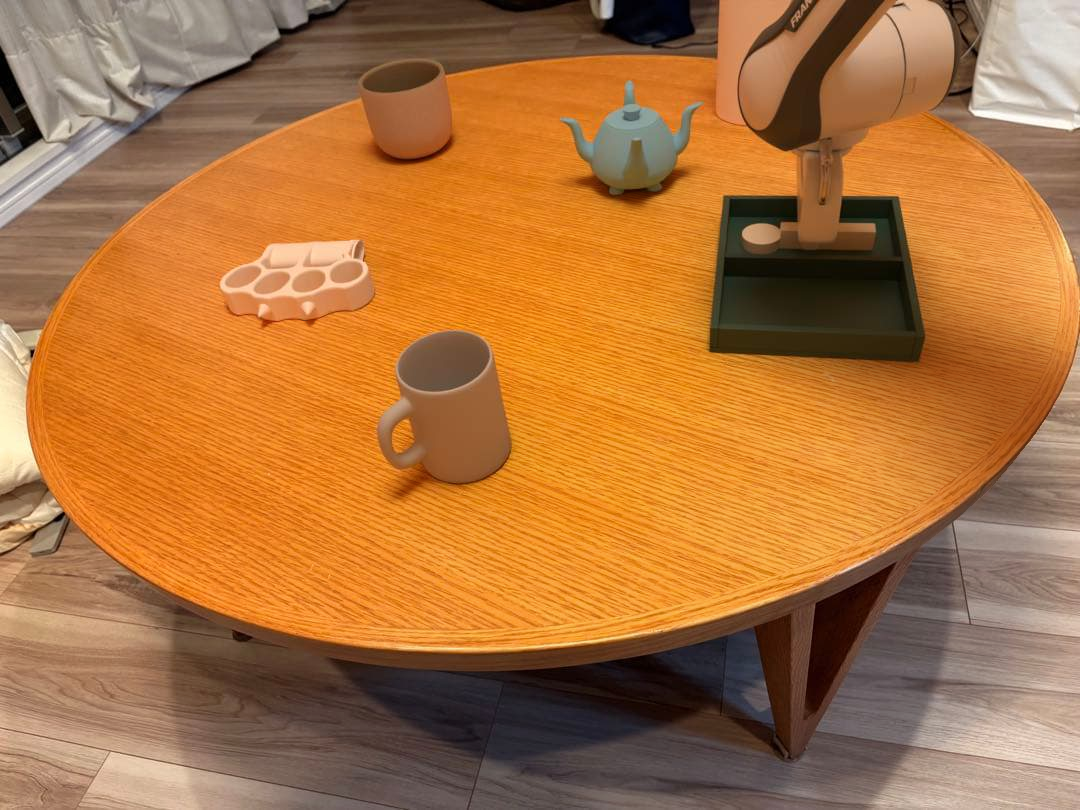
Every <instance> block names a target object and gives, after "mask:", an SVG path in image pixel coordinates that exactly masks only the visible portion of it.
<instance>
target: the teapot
mask: <svg viewBox="0 0 1080 810" xmlns="http://www.w3.org/2000/svg"><path fill="white" fill-rule="evenodd" d="M623 97H624V98H623V104H622V108H619V109H616V110H614V111H611V112H610V113H609V114H608V115H607V116H606V117H605V118H604V120H603V122H602V123H601V124H600V127H599V128H598V130H597V132H596V134H595V137H594V138H593V141H592V142H590V141H588V140H586V139H585V136H584V135H583V130H582V127H581V125H580V123H579V122H578V121H577V119H575V118H571V117H559V118H558V120H559V121H560V122H562V123H564V124H566V125H567V127H569V129H570V130H571V133H572V137H573V142H574V146H575V149H576V152H577V154H578V156H579V157H580V159H582V160H583V161H584V162H585V163H587V164H589V166H590V169H591V171H592V173H593V175H594V176H595V177H596V178H597V179H599V180H600V181H601V182H602V183H604V184H605V185H607V186H609V187H610V188H609V189H608V193H609V194H610V195H613V196H619V195H621V194H623V193H624V192H625V190H639V189H645V188H646V190H647V191H649V192H659V191H660V190H662V189H663V186H662V183H661V182H662V181H664V180H665V179H667V177H669V175H670V174H671V173H672V172H673V170H674V169H675V168H676V166H677V164H678V159H679V158H678V157H679V156H680V155H681V154H682V153H683V152H684V151H685V150H686V149H687V147H688V145H689V143H690V138H691V127H692V125H691V124H692V120H693V119H692V118H693V115H694V113H695V112H696V110H698V109H699V107H701V106H702V105H703V101H697V102H695V103H692V104H690V105H688V106H687V107H686V108H685V109H684V110H683V112H682V115H681V120H680V127H679V130H678V131H677V132H676V133H675V134H673V133H672V131H671V129H670V127H669V126H668V125H667V123H666V122H665V121H664V119H663V117H662V116H661V115H660V114H659V113H658V112H657V111H656V110H654V109H653V108H650V107H645V106H641V105H640V104H637V101H636V95H635V85H634V83H633V80H627V81H626V82H625V84H624V96H623Z"/></svg>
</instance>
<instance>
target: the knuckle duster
mask: <svg viewBox="0 0 1080 810" xmlns="http://www.w3.org/2000/svg"><path fill="white" fill-rule="evenodd" d="M364 255H365V243H364V241H363V240H361V239H357V238H356V239H350V240H332V241H331V240H329V241H309V242H293V243H292V242H290V243H279V242H278V243H270V244H269V245H268V246H266V248H265V250H264V251H263V253H262V254H261V256H260V257H259V258H257V259H256V260H254V261H252V262H250V263H244V264H242V265H239V266H237V267H235V268H233V269H231V270H229V271H228V272H226V273H225V274H224V275H223V276H222V278H221V279H220V281H219V289H220V291H221V293H222V296H223V298H224V300H225V302H226V305H227V306H228V309H229V311H230V312H232V313H233V314H234V315H235V316H244V315H254V316H257V319H260V318H261V319H262V320H266V321H272V322H280V321H283V320H289V319H291V320H292V319H298V320H303V321H309V320H315V319H318V318H319V319H320V318H323V317H324V316H326V315H328V314H331V313H335V312H340V311H350V312H353V311H356V310H359V309H361V308H363V307H365V306H366V305H367V304H369V303H370V302H371V301H372V300H373V298H375V293H376V287H375V284H374V281H373V278H372V274H371V271H370V268H369V265H368V264H367V263H366V262H365V261H363V260H364V257H365V256H364Z"/></svg>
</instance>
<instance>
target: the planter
mask: <svg viewBox="0 0 1080 810" xmlns="http://www.w3.org/2000/svg"><path fill="white" fill-rule="evenodd" d="M357 87H358V90H359V94H360V98H361V102H362V105H363V109H364V112H365V116H366V119H367V122H368V125H369V126H368V127H369V129H370V132H371V134H372V136H373V140H374V141H375V143H376V144H377V145H378V147H379V148H380V149H381V150H382V151H383V152H384V153H386V154H387V155H389V156H391V157H392V158H396V159H399V160H400V159H401V160H414V159H415V160H416V159H421V158H425V157H428V156H430V155H431V156H432V155H433V154H435V153H437V152H438V151H440V150H441V149H442V148H443V147H444V146H446V144H447V143H448V141H449V140H450V137H451V136H452V135H451V134H452V129H453V113H452V106H451V100H450V93H449V89H448V83H447V76H446V72H445V68H444V66H443V64H442V63H440V62H439V61H437V60H433V59H429V58H404V59H398V60H393V61H390V62H386V63H385V62H384V63H383V64H380V65H377V66H375V67H373V68H371V69H369V70H368V71H366V72H364V73H363V74H362V75H361V76H360V77H359V78H358V81H357Z"/></svg>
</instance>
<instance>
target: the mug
mask: <svg viewBox="0 0 1080 810" xmlns="http://www.w3.org/2000/svg"><path fill="white" fill-rule="evenodd" d="M394 374H395V378H396V382H397V386H398V390H399V394H400V398H399V400H397V401H396V402H395V403H393V404H392V405H390V406H389V407H388V408H387V409H386V410H385V411H384V412H383V413H382V414H381V415H380V417H379V419H378V421H377V425H376V426H377V427H376V435H377V442H378V445H379V449H380V451H381V453H382V455H383V457H384V459H385V460H386V462H388V464H389V465H390V466H391V467H394V469H397V470H408V469H410V468H412V467H414V466H415V465H417V464H419V463H420V462H421V463H422V466H423V467H424V469H425V470H426V471H427V472H428V473H429V474H430V475H431V476H433V477H434V478H435V479H437V480H440V481H442V482H446V483H451V484H468V483H473V482H476V481H477V482H478V481H480V480H482V479H485V478H487V477H488V476H490V475H492V474H493V473H495V472H496V471H498V470H499V469H500V468H501V467H502V466H503V465H504V463H505V462H506V460H507V459H508V457H509V455H510V452H511V448H512V438H511V432H510V427H509V423H508V419H507V414H506V408H505V404H504V399H503V394H502V390H501V385H500V384H501V383H500V379H499V374H498V370H497V364H496V359H495V353H494V351H493V348H492V346H491V345H490V343H489V342H488V341H487V340H486V339H485V338H483V337H482V336H481V335H479V334H477V333H474V332H472V331H467V330H461V329H447V330H440V331H435V332H432V333H429V334H426V335H424V336H421V337H420V338H418V339H416V340H414V341H412V343H410V344H409V345H408V346H407V347H405V348H404V349H403V350H402V352H401V353H400V354H399V356H398V358H397V360H396V363H395V368H394ZM405 420H408V421H409V426H410V429H411V431H412V436H413V440H414V441H413V443H412V444H411V445H410V446H409V447H408V448H406V449H405V450H404V451H401V452H396V451H395V449H394V445H393V432H394V430H395V429H396V427H397V426H398V425H399V424H400V423H401V422H403V421H405Z"/></svg>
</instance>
